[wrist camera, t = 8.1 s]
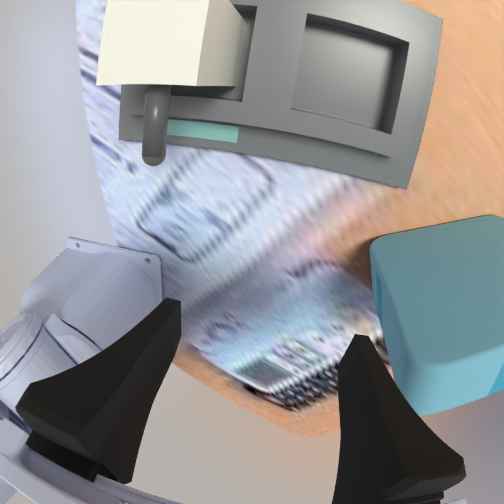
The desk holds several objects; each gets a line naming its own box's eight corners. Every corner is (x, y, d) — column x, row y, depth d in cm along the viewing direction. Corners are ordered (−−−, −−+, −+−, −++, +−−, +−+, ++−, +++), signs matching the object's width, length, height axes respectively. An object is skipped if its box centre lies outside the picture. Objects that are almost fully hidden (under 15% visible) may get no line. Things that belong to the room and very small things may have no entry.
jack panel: (125, 137, 19) (103, 146, 16) (145, -23, 13) (124, -35, 10) (401, 184, 18) (417, 201, 16) (436, 21, 12) (457, 14, 9)
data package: (369, 287, 23) (402, 423, 12) (364, 237, 21) (412, 376, 10) (493, 259, 20) (563, 360, 10) (499, 211, 18) (590, 306, 8)
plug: (166, 135, 18) (95, 171, 11) (181, 12, 13) (112, -23, 7) (229, 142, 17) (187, 182, 11) (248, 15, 13) (216, -34, 6)
